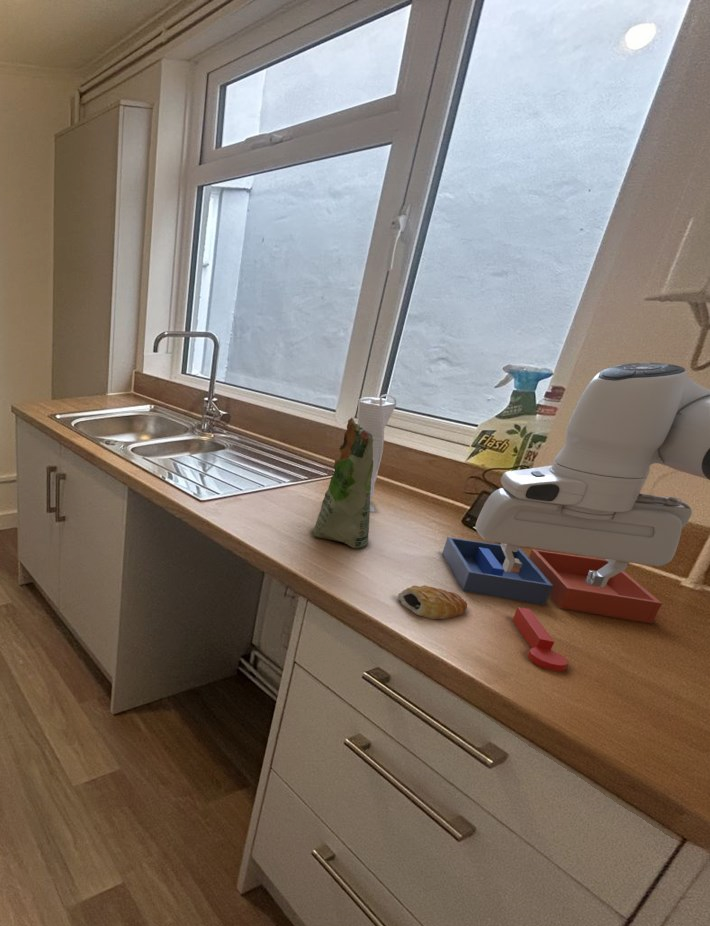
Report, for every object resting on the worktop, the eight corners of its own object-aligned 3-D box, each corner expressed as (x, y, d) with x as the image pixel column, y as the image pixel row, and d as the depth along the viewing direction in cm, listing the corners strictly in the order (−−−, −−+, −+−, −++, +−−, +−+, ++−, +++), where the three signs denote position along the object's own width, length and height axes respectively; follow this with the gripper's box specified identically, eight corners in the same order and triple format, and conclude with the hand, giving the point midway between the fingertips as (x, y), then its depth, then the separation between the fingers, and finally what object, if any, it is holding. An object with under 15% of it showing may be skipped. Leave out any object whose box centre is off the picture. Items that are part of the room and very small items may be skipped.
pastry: (443, 597, 90) (450, 578, 89) (477, 620, 84) (485, 600, 83) (392, 600, 90) (398, 580, 88) (422, 623, 83) (429, 603, 82)
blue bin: (512, 566, 100) (519, 547, 98) (544, 607, 87) (553, 585, 86) (441, 555, 104) (447, 536, 103) (462, 592, 92) (469, 572, 90)
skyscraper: (376, 516, 123) (407, 396, 112) (337, 511, 125) (363, 393, 115) (370, 503, 130) (398, 389, 119) (333, 499, 133) (357, 387, 122)
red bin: (602, 580, 95) (612, 560, 93) (650, 625, 82) (662, 603, 81) (524, 568, 99) (531, 548, 98) (558, 609, 87) (567, 588, 85)
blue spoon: (491, 562, 100) (496, 549, 99) (515, 595, 90) (521, 581, 88) (466, 558, 102) (470, 545, 101) (486, 590, 91) (491, 576, 90)
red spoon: (533, 626, 82) (540, 610, 81) (570, 676, 72) (577, 660, 71) (502, 620, 84) (507, 605, 83) (532, 668, 73) (539, 652, 72)
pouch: (346, 555, 105) (376, 433, 95) (294, 533, 114) (317, 420, 105) (380, 544, 109) (412, 426, 100) (327, 523, 119) (352, 414, 110)
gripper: (682, 492, 69) (636, 583, 74) (489, 471, 77) (460, 554, 82) (714, 509, 64) (662, 605, 69) (503, 484, 72) (471, 573, 77)
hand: (551, 577), depth 76 cm, fingers open, 8 cm apart
